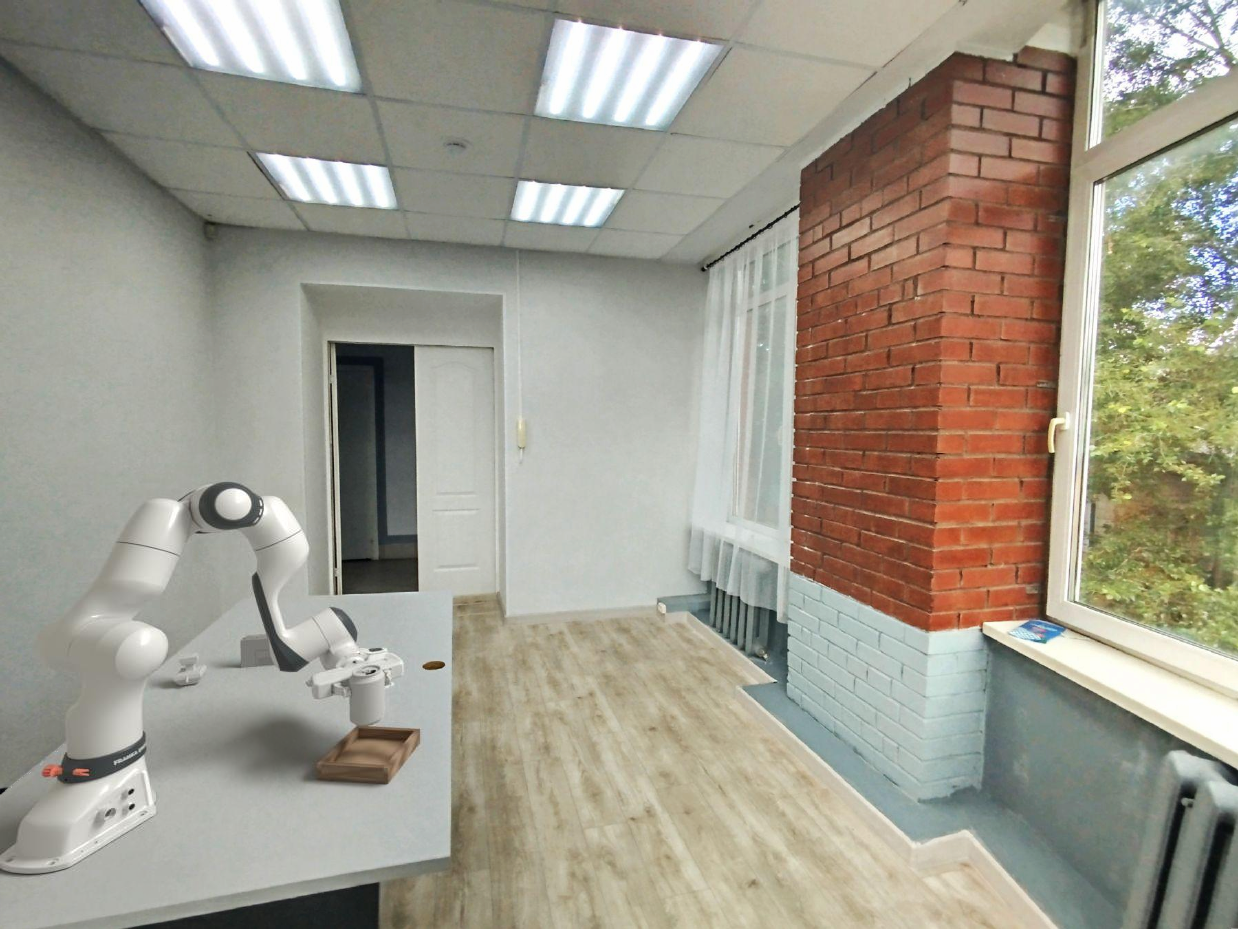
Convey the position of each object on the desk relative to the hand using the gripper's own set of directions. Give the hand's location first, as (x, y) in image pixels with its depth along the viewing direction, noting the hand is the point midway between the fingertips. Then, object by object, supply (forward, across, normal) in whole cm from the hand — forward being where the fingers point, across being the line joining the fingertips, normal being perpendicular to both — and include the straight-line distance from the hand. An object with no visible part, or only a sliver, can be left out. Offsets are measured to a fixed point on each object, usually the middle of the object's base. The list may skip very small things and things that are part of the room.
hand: (368, 687), depth 129 cm
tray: (+1, 0, +17) cm, 17 cm away
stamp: (-75, -28, +18) cm, 82 cm away
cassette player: (-76, -8, +18) cm, 78 cm away
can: (-1, 0, +8) cm, 8 cm away
